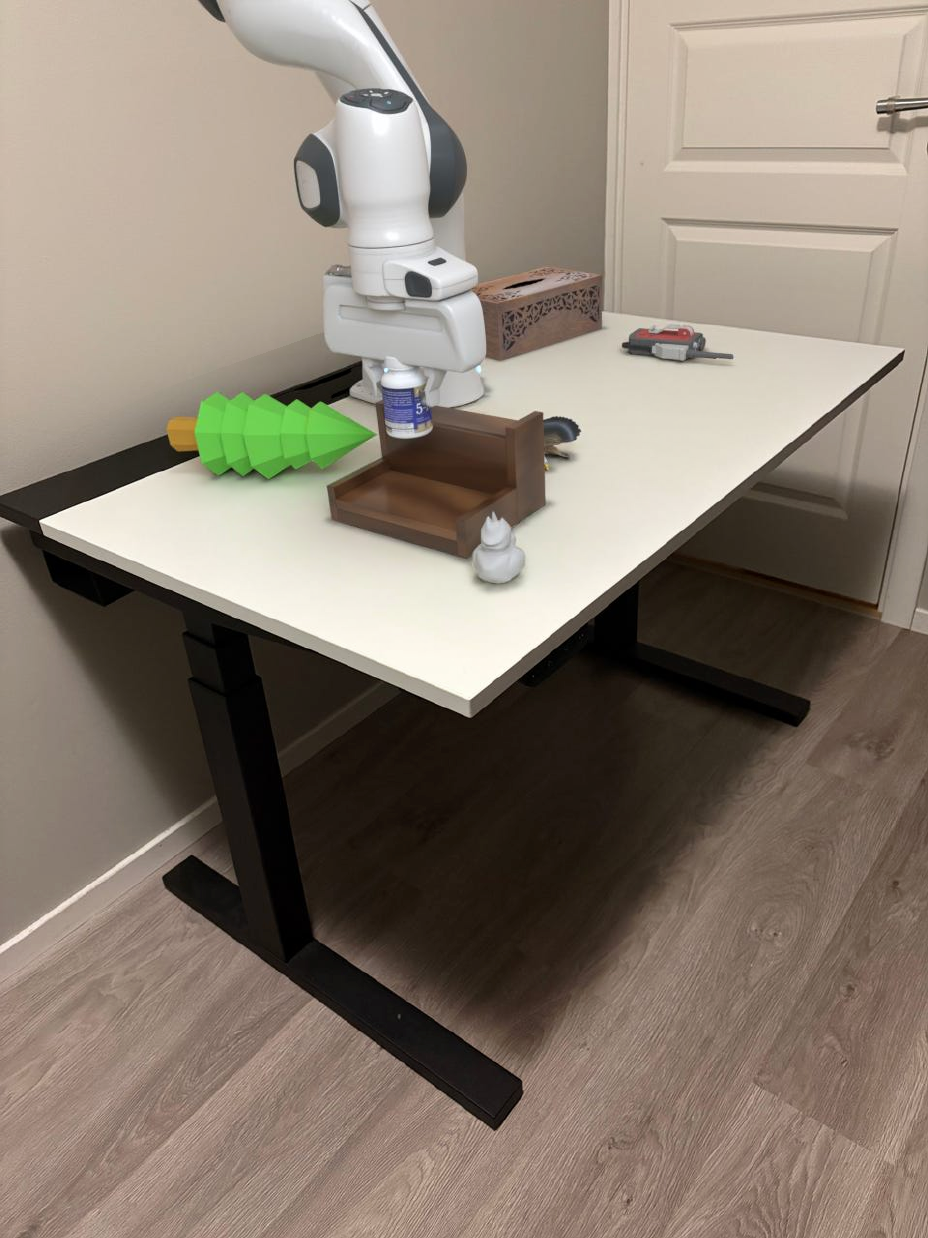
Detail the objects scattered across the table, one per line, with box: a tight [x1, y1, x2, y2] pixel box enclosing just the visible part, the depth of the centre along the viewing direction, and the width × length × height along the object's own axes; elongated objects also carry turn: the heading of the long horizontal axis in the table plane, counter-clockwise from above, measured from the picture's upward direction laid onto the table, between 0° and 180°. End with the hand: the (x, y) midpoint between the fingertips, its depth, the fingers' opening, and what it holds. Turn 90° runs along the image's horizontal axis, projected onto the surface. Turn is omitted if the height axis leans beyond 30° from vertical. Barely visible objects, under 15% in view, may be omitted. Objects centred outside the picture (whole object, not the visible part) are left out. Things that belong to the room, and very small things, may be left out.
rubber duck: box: [471, 512, 526, 584], centre depth 97 cm, size 5×7×8 cm
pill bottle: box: [381, 356, 433, 439], centre depth 104 cm, size 5×5×9 cm
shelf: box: [326, 400, 547, 559], centre depth 111 cm, size 16×20×12 cm
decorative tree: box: [165, 391, 378, 480], centre depth 126 cm, size 11×12×30 cm
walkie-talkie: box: [621, 323, 734, 362], centre depth 160 cm, size 9×4×20 cm
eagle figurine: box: [543, 415, 582, 471], centre depth 123 cm, size 8×7×9 cm
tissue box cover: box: [469, 265, 603, 362], centre depth 175 cm, size 26×14×10 cm, turn 130°
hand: (407, 400), depth 105 cm, fingers closed on pill bottle, 5 cm apart
